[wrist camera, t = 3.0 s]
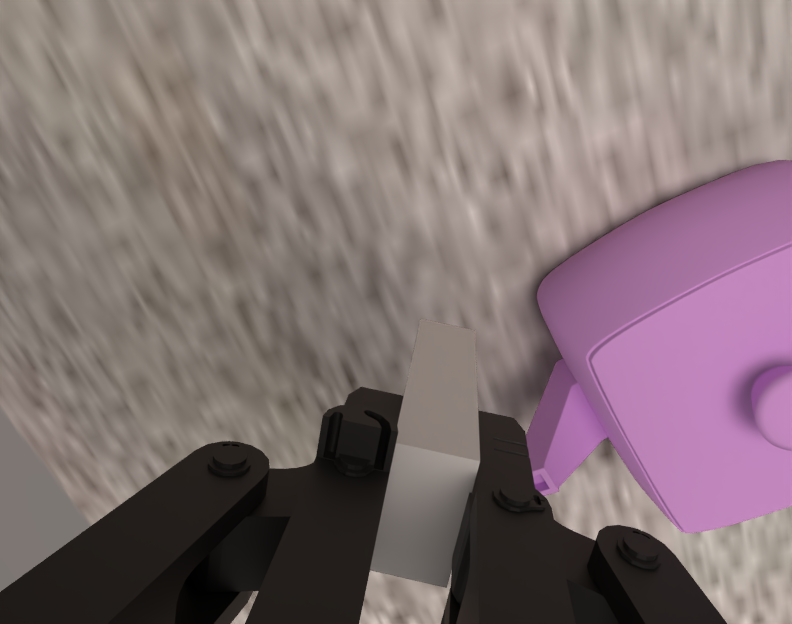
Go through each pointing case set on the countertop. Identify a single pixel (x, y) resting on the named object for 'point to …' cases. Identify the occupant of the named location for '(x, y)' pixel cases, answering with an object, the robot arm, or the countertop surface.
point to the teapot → (679, 352)
